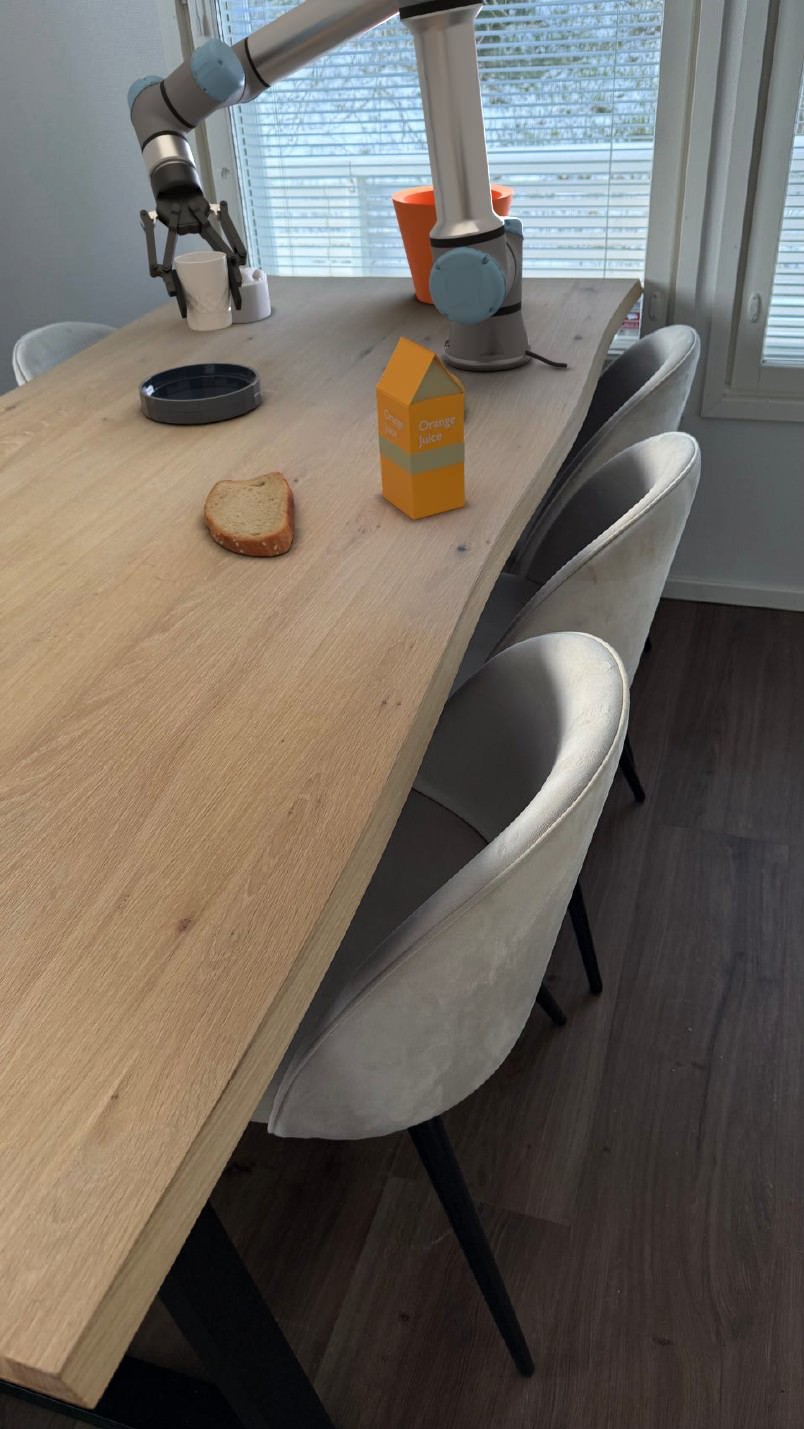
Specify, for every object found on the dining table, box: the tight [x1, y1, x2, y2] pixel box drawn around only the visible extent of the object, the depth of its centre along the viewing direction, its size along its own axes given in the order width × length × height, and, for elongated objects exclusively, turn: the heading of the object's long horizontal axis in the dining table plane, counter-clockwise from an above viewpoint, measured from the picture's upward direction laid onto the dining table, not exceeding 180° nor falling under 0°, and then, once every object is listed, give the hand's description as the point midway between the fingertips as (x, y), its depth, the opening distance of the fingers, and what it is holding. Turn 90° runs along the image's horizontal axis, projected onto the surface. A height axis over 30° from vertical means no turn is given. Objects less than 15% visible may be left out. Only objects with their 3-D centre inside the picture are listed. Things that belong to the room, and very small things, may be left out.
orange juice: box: [375, 335, 466, 521], centre depth 124 cm, size 8×9×20 cm
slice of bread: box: [203, 470, 295, 557], centre depth 127 cm, size 18×18×4 cm
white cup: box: [173, 250, 233, 332], centre depth 153 cm, size 8×8×10 cm
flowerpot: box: [391, 183, 515, 305], centre depth 210 cm, size 25×25×20 cm
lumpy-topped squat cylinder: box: [230, 266, 272, 324], centre depth 208 cm, size 10×13×9 cm
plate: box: [137, 362, 264, 425], centre depth 164 cm, size 20×20×4 cm
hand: (212, 309), depth 152 cm, fingers closed on white cup, 8 cm apart
